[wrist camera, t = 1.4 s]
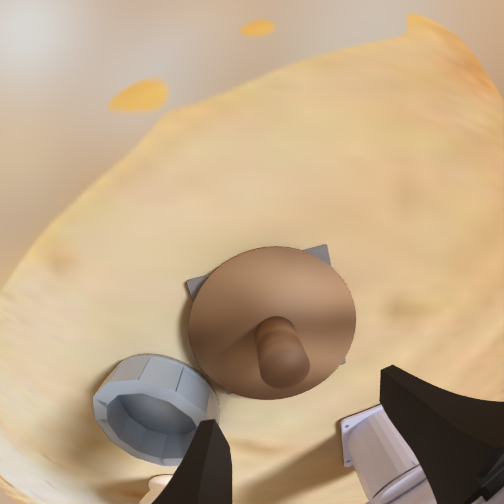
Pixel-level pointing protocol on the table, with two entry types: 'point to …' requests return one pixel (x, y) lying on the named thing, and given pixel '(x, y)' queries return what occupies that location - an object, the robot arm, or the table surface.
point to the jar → (155, 488)
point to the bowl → (154, 407)
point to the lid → (272, 323)
